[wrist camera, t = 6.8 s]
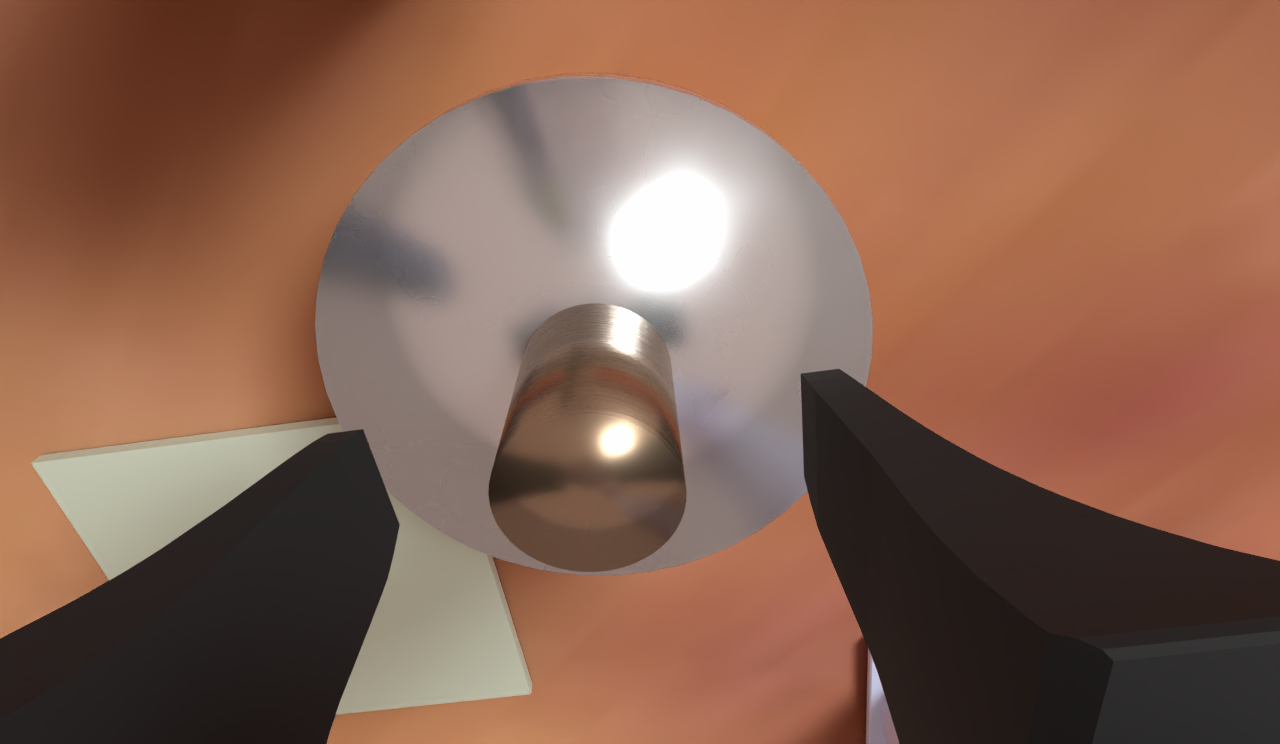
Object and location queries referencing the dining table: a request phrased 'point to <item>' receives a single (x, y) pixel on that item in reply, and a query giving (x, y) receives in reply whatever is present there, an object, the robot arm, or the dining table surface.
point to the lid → (589, 322)
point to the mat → (411, 600)
